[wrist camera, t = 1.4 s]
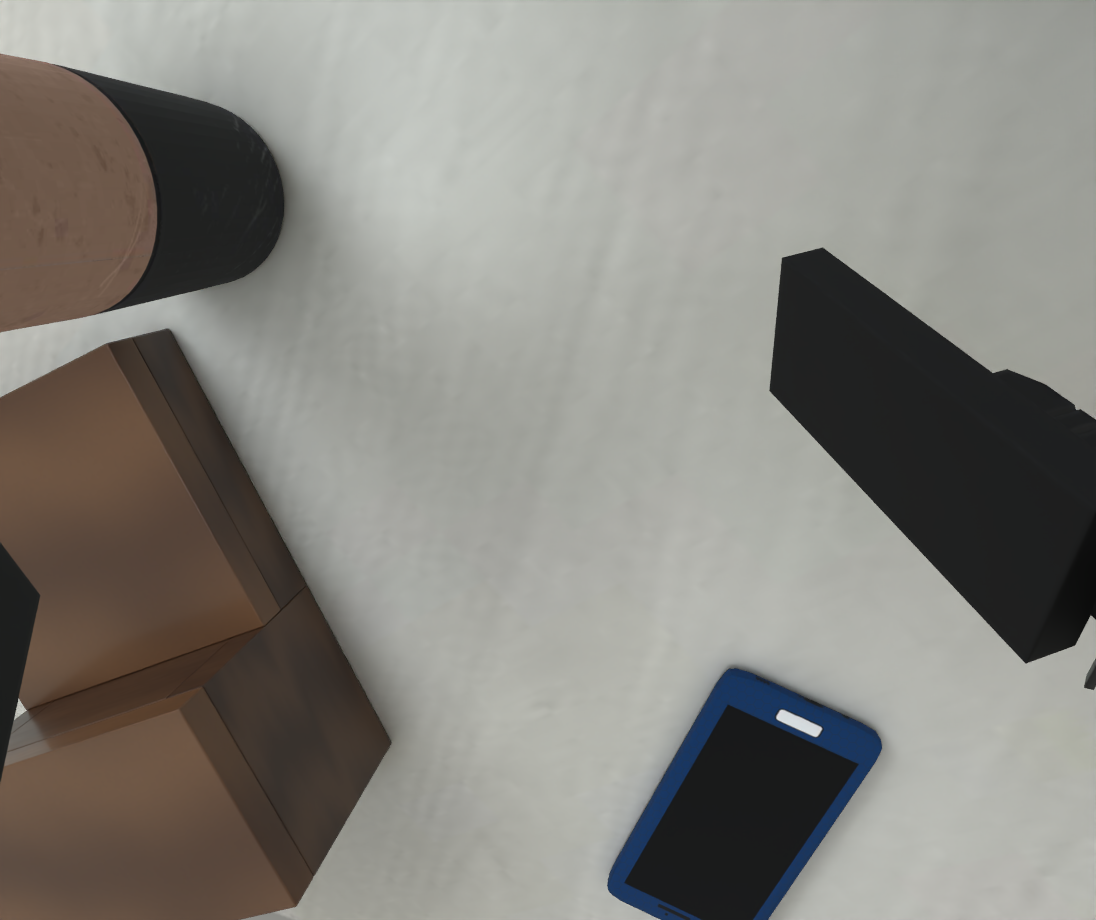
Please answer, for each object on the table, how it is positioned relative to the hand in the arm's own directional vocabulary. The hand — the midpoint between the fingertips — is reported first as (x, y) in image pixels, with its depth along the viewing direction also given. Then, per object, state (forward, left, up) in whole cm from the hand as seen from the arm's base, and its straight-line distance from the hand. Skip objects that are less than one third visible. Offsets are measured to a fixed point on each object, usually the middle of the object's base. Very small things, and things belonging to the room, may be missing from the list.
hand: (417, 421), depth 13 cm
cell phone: (+24, -3, -20) cm, 32 cm away
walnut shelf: (+5, -24, -20) cm, 32 cm away
